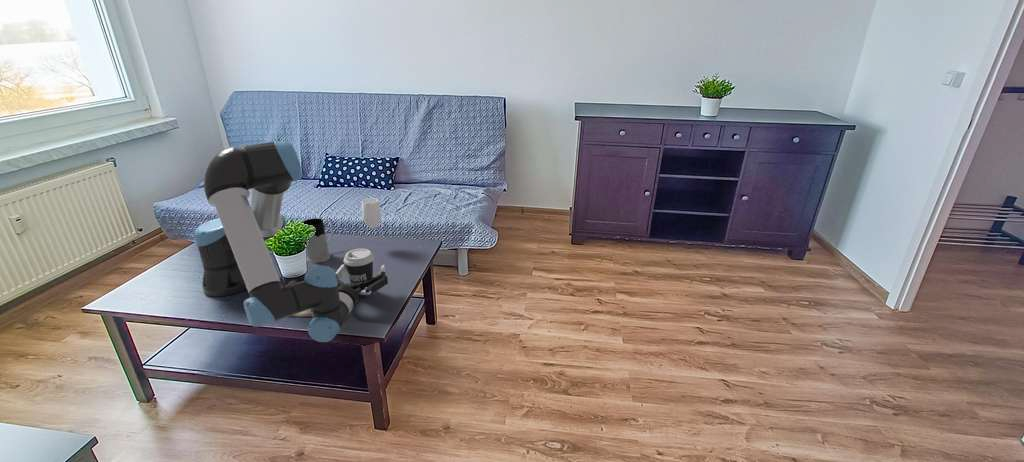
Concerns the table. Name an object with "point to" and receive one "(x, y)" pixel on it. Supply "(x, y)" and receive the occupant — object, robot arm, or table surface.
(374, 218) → the cup
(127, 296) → the table surface
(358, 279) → the coffee cup
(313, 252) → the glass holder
